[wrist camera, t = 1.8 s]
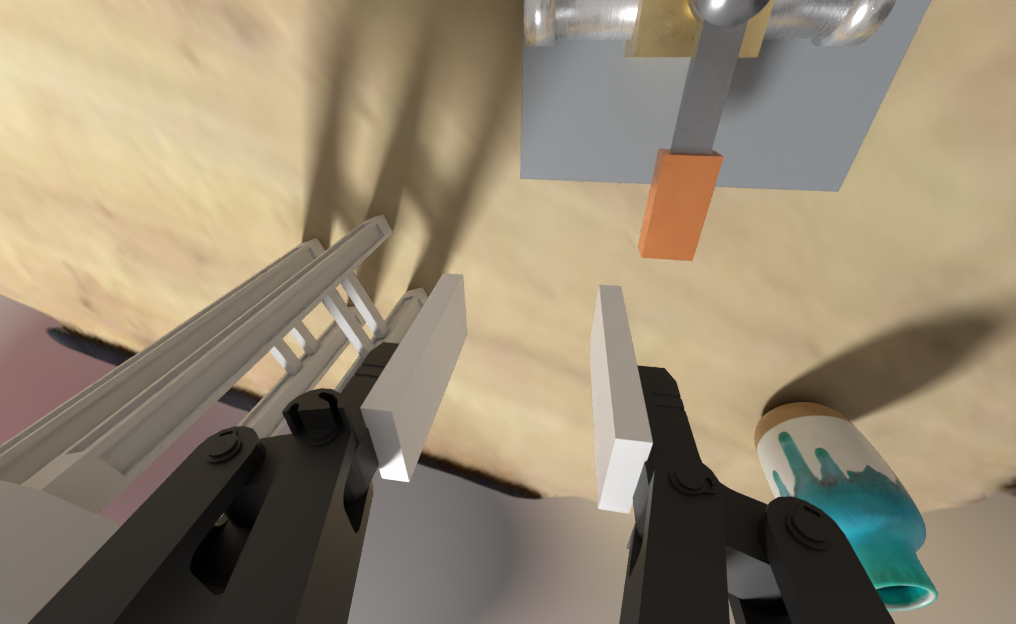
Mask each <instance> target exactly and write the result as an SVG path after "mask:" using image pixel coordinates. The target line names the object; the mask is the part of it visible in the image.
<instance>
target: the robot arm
mask: <svg viewBox="0 0 1016 624" xmlns="http://www.w3.org/2000/svg"><path fill="white" fill-rule="evenodd" d="M466 336H467V323H466V309H465V295H464V281H463V275H459V274H445V273H443V274H442V276H441V278H440V279H439V281H438V282H437V284H436V286H435V287H434V289H433V291H432V292H431V294H430V295H429V297H428V299H427V300H426V302H425V304H424V305H423V307H422V308H421V310H420V312H419V313H418V315H417V317H416V318H415V320H414V321H413V323H412V325H411V326H410V328H409V329H408V331H407V333H406V334H405V336H404V338H403V339H402V341H401V342H400V344H399V343H389V342H382V343H381V344H380V345H378V346H377V347H376V348H374V349H373V350H371V351H370V352H369V353H368V355H367V356H366V358H365V359H364V361H363V362H362V363H361V366H359V368H358V369H357V371H356V372H355V373H354V374H355V375H354V376H352V378H351V379H350V380H349V382H348V383H347V385H346V386H345V388H344V389H343V390H342V392H341V393H339V392H337V391H335V390H333V389H324V388H321V389H316V390H311V391H308V392H306V393H304V394H301V395H299V396H297V397H296V398H295V399H293V400H292V401H291V402H289V403H288V404H287V406H286V407H285V408H284V410H283V411H282V413H283V415H284V418H285V420H286V422H287V424H288V426H289V428H290V430H291V432H292V434H287V435H280V436H274V437H267V438H261V439H260V438H259V437H258V435H257V433H256V432H255V430H254V429H252V428H249V427H246V426H236V427H231V428H228V429H225V430H221V431H220V432H218V433H216V434H214V435H212V436H210V437H209V438H207V439H206V440H205V441H204V442H203V443H201V444H200V445H199V446H198V447H197V448H196V449H195V450H194V451H193V452H192V453H191V454H190V455H189V456H188V457H187V459H185V460H184V461H183V463H182V464H181V465H180V466H179V467H178V468H177V469H176V470H175V471H174V472H173V473H172V474H171V475H170V476H169V477H168V478H167V479H166V480H165V481H164V482H163V483H162V484H161V485H160V486H159V487H158V488H157V490H156V491H155V492H154V493H153V494H152V495H151V496H150V497H149V498H148V499H147V500H146V501H145V502H144V503H143V504H142V505H141V506H140V507H139V508H138V509H137V510H136V511H135V512H134V513H133V514H132V516H131V517H130V518H129V519H128V520H127V521H126V522H125V523H124V524H123V525H122V526H121V527H120V528H119V529H118V530H117V531H116V532H115V533H114V534H113V535H112V536H111V537H110V538H109V539H108V540H107V541H106V542H105V544H104V545H103V546H102V547H101V548H100V549H99V550H98V551H97V552H96V553H95V554H94V555H93V556H92V557H91V558H90V559H89V560H88V561H87V562H86V563H85V564H84V565H83V566H82V567H81V568H80V570H79V571H78V572H77V573H76V574H75V575H74V576H73V577H72V578H71V579H70V580H69V581H68V582H67V583H66V584H65V585H64V586H63V587H62V588H61V589H60V590H59V591H58V592H57V593H56V594H55V595H54V597H53V598H52V599H51V600H50V601H49V602H48V603H47V604H46V605H45V606H44V607H43V608H42V609H41V610H40V611H39V612H38V613H37V614H36V615H35V616H34V617H33V618H32V619H31V620H30V621H29V622H28V624H347V621H348V616H349V612H350V607H351V602H352V597H353V592H354V587H355V582H356V577H357V572H358V567H359V562H360V557H361V552H362V547H363V542H364V537H365V532H366V527H367V522H368V517H369V513H370V508H371V503H372V497H373V484H372V481H371V480H372V478H373V476H374V474H375V472H376V470H377V468H378V467H379V470H380V473H381V476H382V478H384V479H391V480H398V481H405V482H409V481H410V479H411V476H412V474H413V471H414V469H415V466H416V464H417V461H418V459H419V456H420V454H421V451H422V448H423V446H424V443H425V441H426V438H427V436H428V433H429V431H430V428H431V425H432V423H433V420H434V418H435V415H436V413H437V410H438V408H439V405H440V402H441V400H442V397H443V395H444V392H445V390H446V387H447V385H448V382H449V380H450V377H451V374H452V372H453V369H454V367H455V364H456V362H457V359H458V357H459V354H460V351H461V349H462V346H463V344H464V341H465V339H466ZM590 363H591V382H592V402H593V421H594V441H595V461H596V480H597V500H598V509H601V510H608V511H615V512H622V513H630V510H631V507H632V504H633V506H634V514H635V521H636V523H635V525H634V529H633V531H632V534H631V536H630V539H629V542H628V545H627V548H628V549H630V550H629V558H628V565H627V572H626V579H625V586H624V593H623V600H622V608H621V615H620V623H619V624H730V620H729V603H728V598H729V602H730V606H731V609H732V612H733V616H734V620H735V624H895V623H894V621H893V619H892V617H891V615H890V614H889V612H888V610H887V608H886V607H885V605H884V603H883V601H882V599H881V598H880V596H879V594H878V592H877V590H876V589H875V587H874V585H873V583H872V582H871V580H870V578H869V576H868V574H867V573H866V571H865V569H864V567H863V565H862V564H861V562H860V560H859V558H858V556H857V555H856V553H855V551H854V549H853V548H852V546H851V544H850V542H849V540H848V539H847V537H846V535H845V534H844V532H843V531H842V530H841V528H840V527H839V526H838V524H837V523H836V522H835V521H834V520H833V519H832V518H831V517H830V516H828V515H827V514H826V513H825V512H824V511H823V510H821V509H820V508H818V507H816V506H814V505H813V504H811V503H809V502H807V501H805V500H802V499H798V498H795V497H791V496H788V497H777V498H776V499H774V500H772V501H771V502H770V503H769V504H768V505H767V504H765V503H763V502H760V501H758V500H755V499H753V498H750V497H748V496H745V495H743V494H740V493H738V492H736V491H734V490H732V489H730V488H728V487H726V486H725V485H723V484H722V483H720V482H719V480H718V479H717V477H716V476H715V475H714V473H713V472H712V470H711V469H709V468H708V467H707V466H706V465H704V464H703V463H702V461H701V459H700V456H699V453H698V450H697V447H696V444H695V440H694V437H693V434H692V431H691V428H690V424H689V421H688V418H687V415H686V412H685V411H684V405H683V402H682V399H680V393H679V389H678V386H677V383H676V381H675V380H674V379H673V377H672V376H671V375H670V374H669V373H668V372H667V370H666V369H665V368H657V367H647V366H637V362H636V357H635V352H634V347H633V342H632V337H631V332H630V328H629V323H628V318H627V313H626V308H625V303H624V298H623V293H622V288H621V286H610V285H599V288H598V295H597V301H596V308H595V314H594V320H593V327H592V333H591V340H590ZM223 513H224V514H223ZM222 514H223V516H222V517H221V515H222ZM220 517H221V518H220ZM219 518H220V519H219ZM218 519H219V520H218Z"/></svg>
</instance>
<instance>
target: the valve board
mask: <svg viewBox="0 0 1016 624" xmlns="http://www.w3.org/2000/svg"><path fill="white" fill-rule="evenodd" d="M930 2H931V0H897V1H896V3H895V5H894V7H893V9H892V10H891V12H890V14H889V15H888V17H887V18H886V19H885V21H884V22H883V23H882V25H881V26H880V27H879V28H878V30H877V31H876V32H875V33H874V34H873V35H872V36H871V37H870V38H869V39H867V40H866V41H865V42H863V43H862V44H860V45H858V46H854V47H816V46H814V45H813V43H812V42H811V39H763V41H762V44H761V47H760V50H759V54H758V57H756V58H738V59H737V62H736V66H735V69H734V73H733V76H732V80H731V84H730V87H729V91H728V94H727V98H726V101H725V105H724V108H723V112H722V115H721V119H720V123H719V126H718V130H717V133H716V137H715V140H714V144H713V147H712V150H714V151H716V152H718V153H719V154H721V155H722V156H724V158H723V161H722V165H721V168H720V171H719V175H718V178H717V181H716V184H715V187H734V188H759V189H783V190H808V191H832V192H839V190H840V188H841V186H842V184H843V182H844V179H845V177H846V175H847V173H848V171H849V169H850V167H851V165H852V163H853V161H854V159H855V157H856V155H857V153H858V151H859V148H860V146H861V144H862V142H863V140H864V138H865V136H866V134H867V132H868V130H869V128H870V126H871V124H872V122H873V120H874V117H875V115H876V113H877V111H878V109H879V107H880V105H881V103H882V101H883V99H884V97H885V95H886V93H887V91H888V89H889V86H890V84H891V82H892V80H893V78H894V76H895V74H896V72H897V70H898V68H899V66H900V64H901V62H902V60H903V58H904V55H905V53H906V51H907V49H908V47H909V45H910V43H911V41H912V39H913V37H914V35H915V33H916V31H917V29H918V26H919V24H920V22H921V20H922V18H923V16H924V14H925V12H926V10H927V8H928V6H929V4H930ZM625 45H626V40H556V46H555V47H526V44H525V35H524V19H523V69H522V120H521V170H520V179H539V180H563V181H588V182H612V183H637V184H651V182H652V177H653V172H654V167H655V163H656V158H657V153H658V149H670V148H671V144H672V139H673V135H674V131H675V126H676V122H677V117H678V113H679V108H680V104H681V99H682V95H683V90H684V86H685V82H686V77H687V73H688V68H689V64H690V59H691V58H624V52H625Z"/></svg>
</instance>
